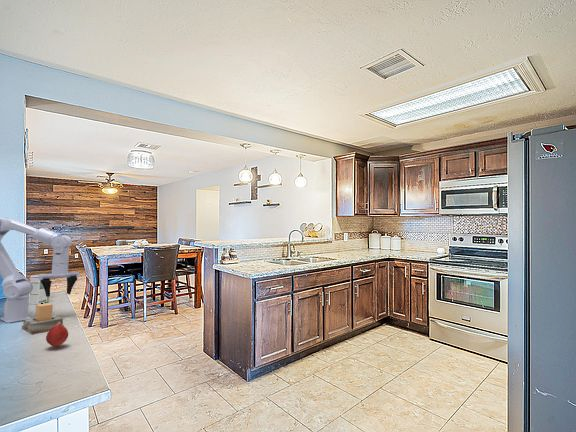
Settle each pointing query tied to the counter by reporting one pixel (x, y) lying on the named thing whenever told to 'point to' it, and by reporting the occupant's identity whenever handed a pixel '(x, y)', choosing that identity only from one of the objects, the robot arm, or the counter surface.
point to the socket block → (40, 324)
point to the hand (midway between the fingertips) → (58, 295)
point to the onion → (57, 335)
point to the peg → (43, 312)
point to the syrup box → (37, 291)
